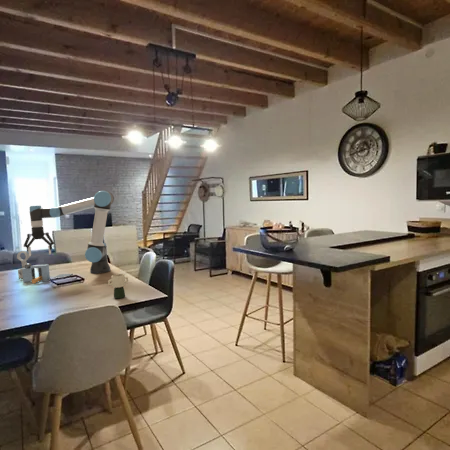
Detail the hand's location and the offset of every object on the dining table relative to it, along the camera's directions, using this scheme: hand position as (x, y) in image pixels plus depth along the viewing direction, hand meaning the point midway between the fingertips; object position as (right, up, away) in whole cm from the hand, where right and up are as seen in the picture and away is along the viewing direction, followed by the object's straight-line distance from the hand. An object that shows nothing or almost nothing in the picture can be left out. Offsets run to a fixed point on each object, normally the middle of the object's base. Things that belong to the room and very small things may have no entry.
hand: (40, 255), depth 239 cm
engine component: (-19, -19, +13) cm, 30 cm away
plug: (+1, -18, -1) cm, 19 cm away
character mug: (+77, -19, -56) cm, 97 cm away
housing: (-2, -19, -3) cm, 19 cm away
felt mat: (+12, -17, +8) cm, 22 cm away
